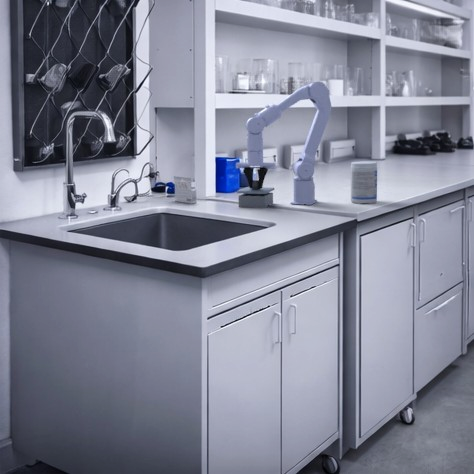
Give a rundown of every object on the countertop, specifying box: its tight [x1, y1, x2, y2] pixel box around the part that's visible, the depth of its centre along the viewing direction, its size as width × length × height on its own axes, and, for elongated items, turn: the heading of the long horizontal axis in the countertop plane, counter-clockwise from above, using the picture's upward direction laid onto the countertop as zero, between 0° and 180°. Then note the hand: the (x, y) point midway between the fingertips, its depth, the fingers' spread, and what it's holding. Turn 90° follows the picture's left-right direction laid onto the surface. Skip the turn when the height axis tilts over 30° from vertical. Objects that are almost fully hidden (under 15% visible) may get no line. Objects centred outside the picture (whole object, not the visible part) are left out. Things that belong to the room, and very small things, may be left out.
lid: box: [236, 179, 275, 194], centre depth 248 cm, size 11×11×4 cm
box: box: [238, 192, 274, 209], centre depth 250 cm, size 10×10×4 cm
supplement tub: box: [350, 160, 378, 204], centre depth 249 cm, size 10×10×15 cm
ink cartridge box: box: [173, 175, 197, 205], centre depth 260 cm, size 2×11×10 cm, turn 41°
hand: (255, 188), depth 249 cm, fingers closed on lid, 3 cm apart
